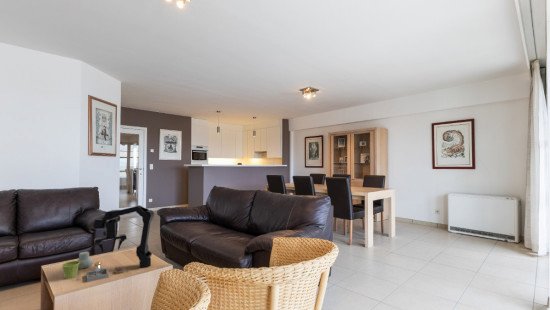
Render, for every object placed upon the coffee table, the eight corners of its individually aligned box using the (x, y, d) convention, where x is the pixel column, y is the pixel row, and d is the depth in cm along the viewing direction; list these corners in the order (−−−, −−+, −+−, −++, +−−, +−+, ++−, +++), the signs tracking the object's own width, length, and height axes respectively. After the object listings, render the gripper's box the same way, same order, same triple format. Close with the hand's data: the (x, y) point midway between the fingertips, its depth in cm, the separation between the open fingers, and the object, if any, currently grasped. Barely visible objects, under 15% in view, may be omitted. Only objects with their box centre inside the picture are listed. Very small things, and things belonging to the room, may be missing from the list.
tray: (107, 272, 180) (107, 268, 180) (108, 278, 170) (108, 273, 171) (86, 277, 173) (86, 272, 173) (87, 283, 164) (87, 278, 164)
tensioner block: (126, 267, 188) (126, 264, 188) (128, 273, 179) (128, 269, 179) (109, 271, 182) (109, 268, 182) (110, 276, 173) (110, 273, 173)
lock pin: (101, 275, 174) (101, 261, 175) (101, 277, 171) (101, 263, 172) (94, 276, 172) (94, 262, 172) (94, 278, 169) (94, 264, 169)
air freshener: (95, 264, 194) (95, 250, 194) (87, 269, 185) (87, 255, 186) (80, 264, 194) (81, 250, 194) (71, 269, 186) (72, 254, 186)
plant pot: (78, 278, 172) (78, 264, 172) (60, 281, 167) (60, 267, 167) (80, 272, 180) (80, 259, 180) (63, 276, 175) (63, 262, 175)
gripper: (124, 224, 199) (124, 245, 198) (94, 228, 188) (94, 250, 188) (126, 227, 190) (126, 249, 189) (94, 231, 179) (94, 255, 178)
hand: (110, 251), depth 186 cm, fingers open, 9 cm apart
